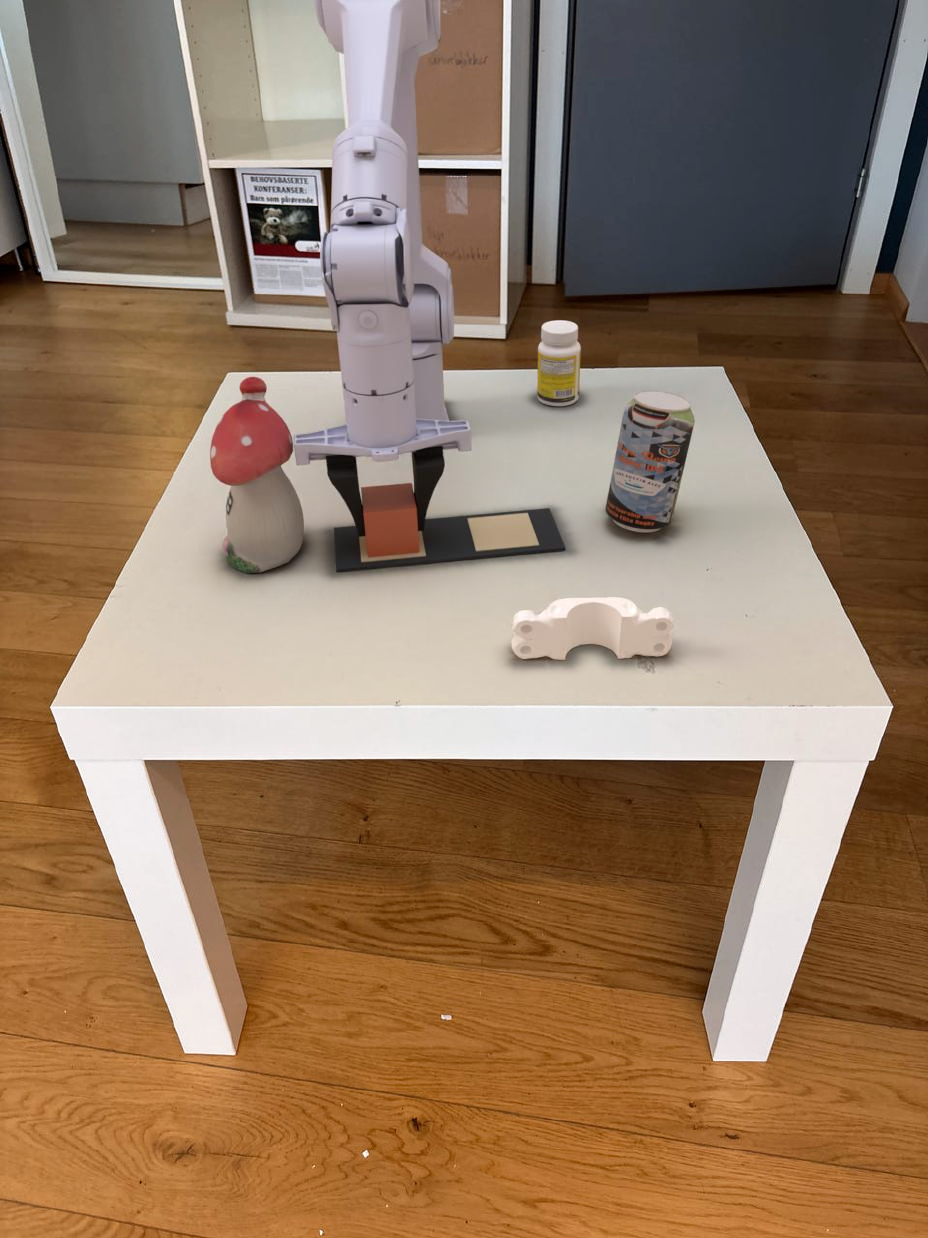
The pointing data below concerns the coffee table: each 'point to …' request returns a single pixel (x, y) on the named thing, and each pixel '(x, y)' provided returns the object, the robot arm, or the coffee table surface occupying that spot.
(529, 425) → the coffee table surface
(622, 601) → the pipe clamp
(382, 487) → the orange red cube
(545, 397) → the supplement bottle
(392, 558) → the black rectangular board
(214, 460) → the decorative ornament
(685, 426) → the beverage can
